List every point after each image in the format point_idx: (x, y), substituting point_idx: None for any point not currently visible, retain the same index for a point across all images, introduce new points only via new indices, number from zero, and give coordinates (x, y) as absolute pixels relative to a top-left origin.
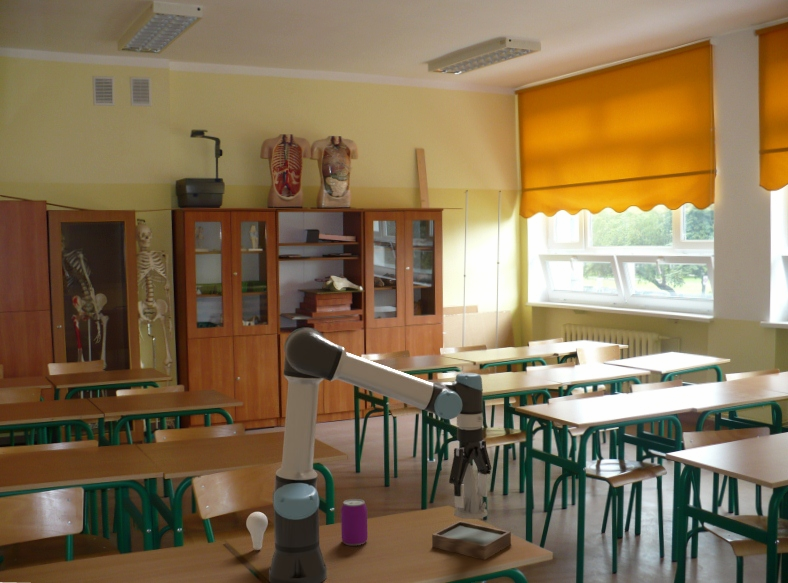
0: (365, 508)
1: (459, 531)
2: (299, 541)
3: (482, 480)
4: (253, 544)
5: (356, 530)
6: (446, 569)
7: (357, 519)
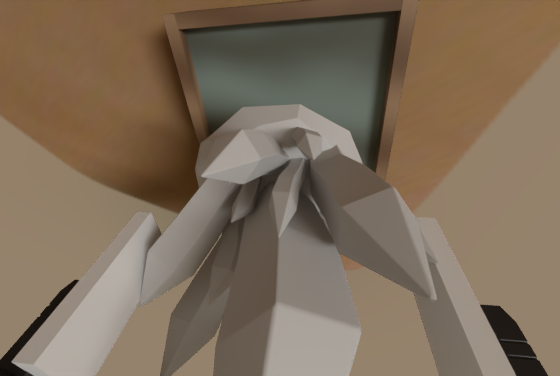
0: None
1: (308, 70)
2: None
3: (449, 360)
4: None
5: None
6: (116, 165)
7: None
